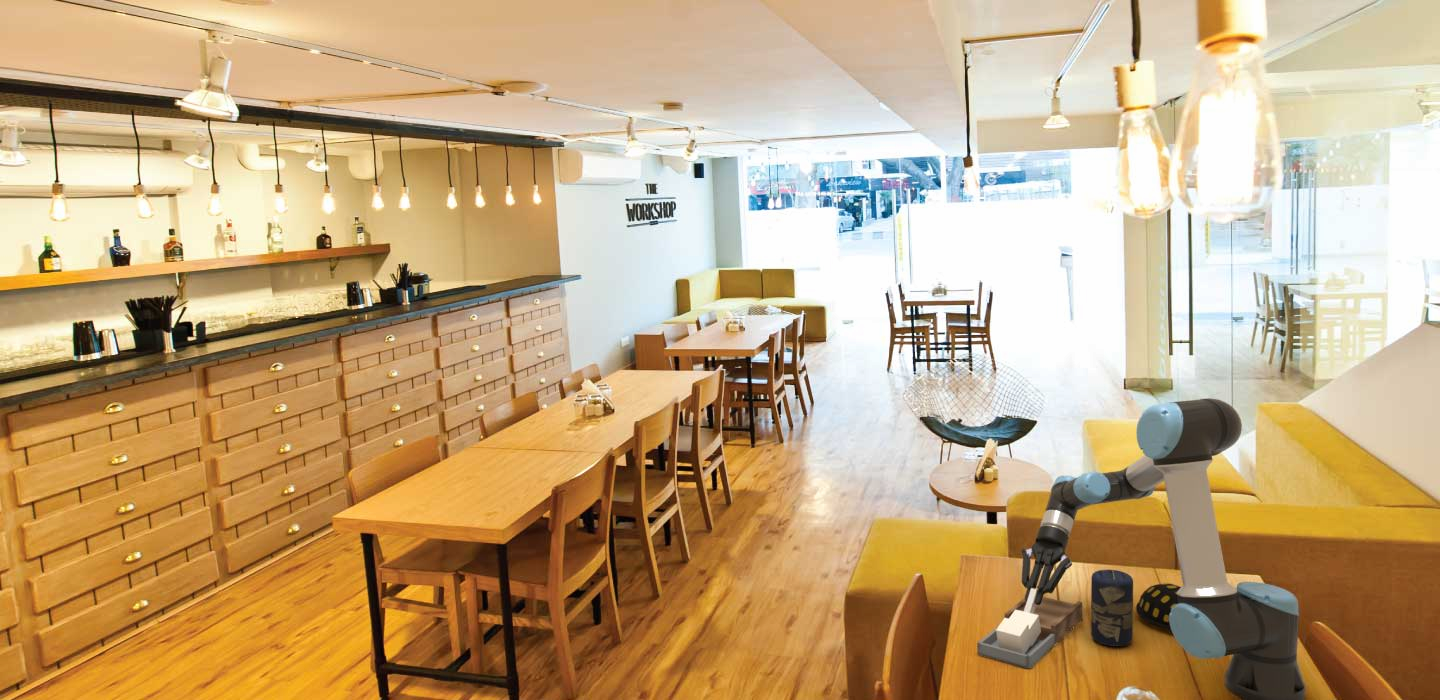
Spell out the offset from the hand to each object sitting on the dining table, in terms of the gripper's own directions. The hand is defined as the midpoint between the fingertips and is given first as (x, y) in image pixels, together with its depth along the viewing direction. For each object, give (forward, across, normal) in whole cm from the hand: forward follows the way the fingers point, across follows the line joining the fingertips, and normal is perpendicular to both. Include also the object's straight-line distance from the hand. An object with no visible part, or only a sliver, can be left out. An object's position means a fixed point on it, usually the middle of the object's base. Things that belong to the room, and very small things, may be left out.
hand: (1028, 614), depth 232 cm
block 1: (+6, 0, +4) cm, 7 cm away
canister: (-3, -16, -13) cm, 21 cm away
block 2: (+5, 0, -1) cm, 5 cm away
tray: (+10, 0, 0) cm, 10 cm away
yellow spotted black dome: (-17, -25, -27) cm, 40 cm away
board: (-2, 0, -11) cm, 12 cm away
